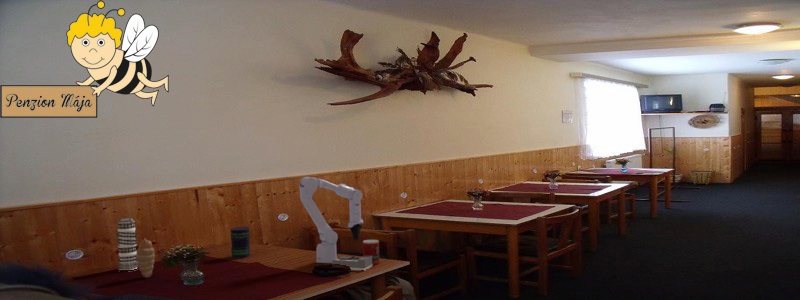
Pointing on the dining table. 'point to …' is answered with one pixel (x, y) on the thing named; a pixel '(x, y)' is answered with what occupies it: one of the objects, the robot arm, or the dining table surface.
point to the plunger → (353, 258)
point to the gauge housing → (355, 262)
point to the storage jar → (240, 242)
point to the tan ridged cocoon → (146, 257)
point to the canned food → (371, 250)
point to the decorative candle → (127, 244)
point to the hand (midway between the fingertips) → (356, 239)
